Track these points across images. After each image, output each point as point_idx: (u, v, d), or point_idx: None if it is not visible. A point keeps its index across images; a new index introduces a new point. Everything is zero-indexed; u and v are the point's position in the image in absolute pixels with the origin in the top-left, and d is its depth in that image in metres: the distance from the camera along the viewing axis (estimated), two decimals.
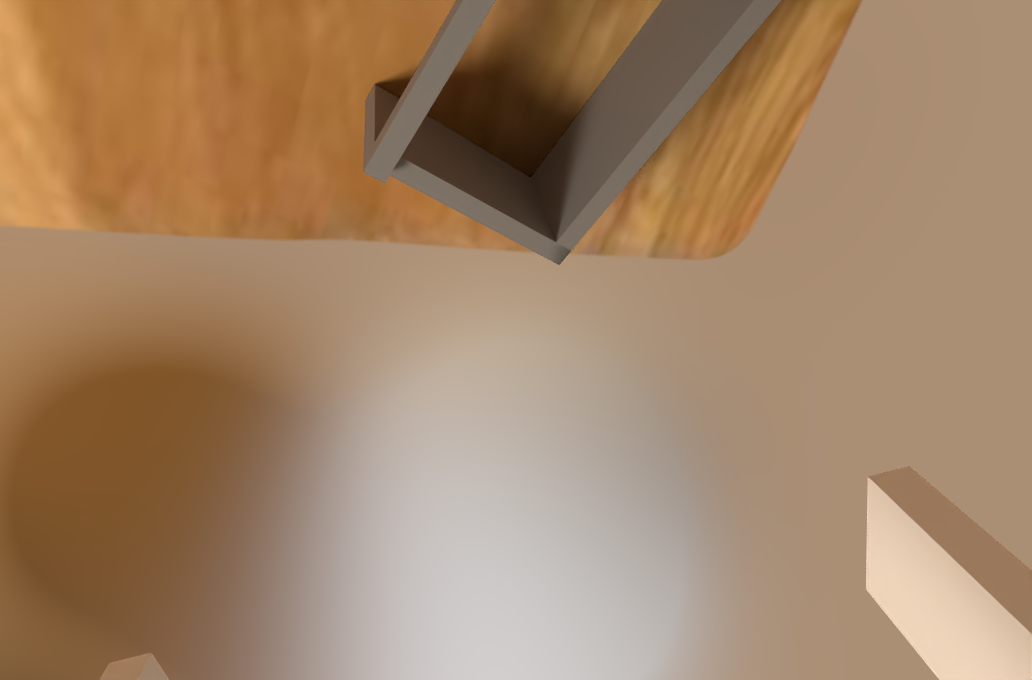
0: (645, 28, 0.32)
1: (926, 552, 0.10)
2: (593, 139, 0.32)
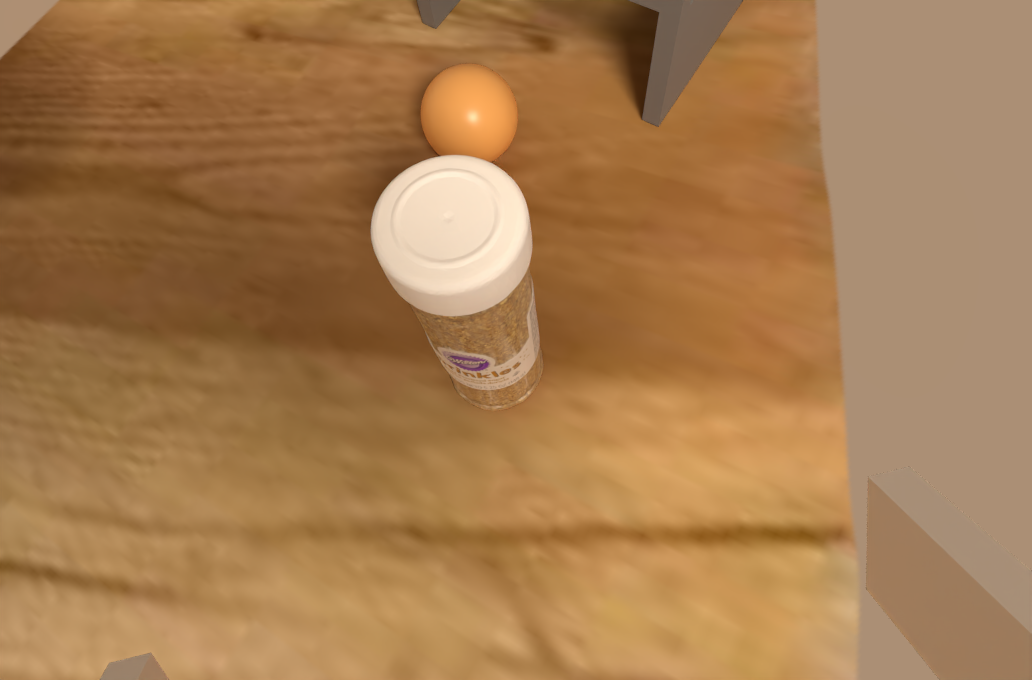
0: None
1: (926, 552, 0.10)
2: None
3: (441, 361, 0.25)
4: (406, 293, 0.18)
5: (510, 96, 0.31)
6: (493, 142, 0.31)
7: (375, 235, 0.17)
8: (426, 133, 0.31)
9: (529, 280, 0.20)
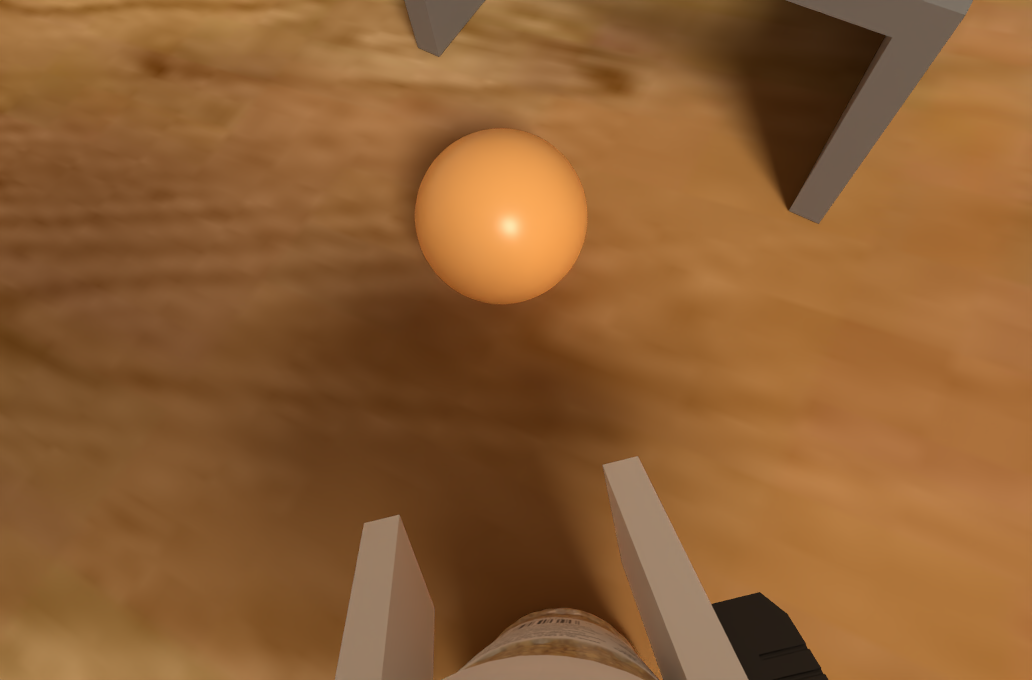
0: None
1: (623, 526, 0.12)
2: None
3: None
4: None
5: (577, 188, 0.17)
6: (548, 272, 0.17)
7: None
8: (425, 253, 0.17)
9: None
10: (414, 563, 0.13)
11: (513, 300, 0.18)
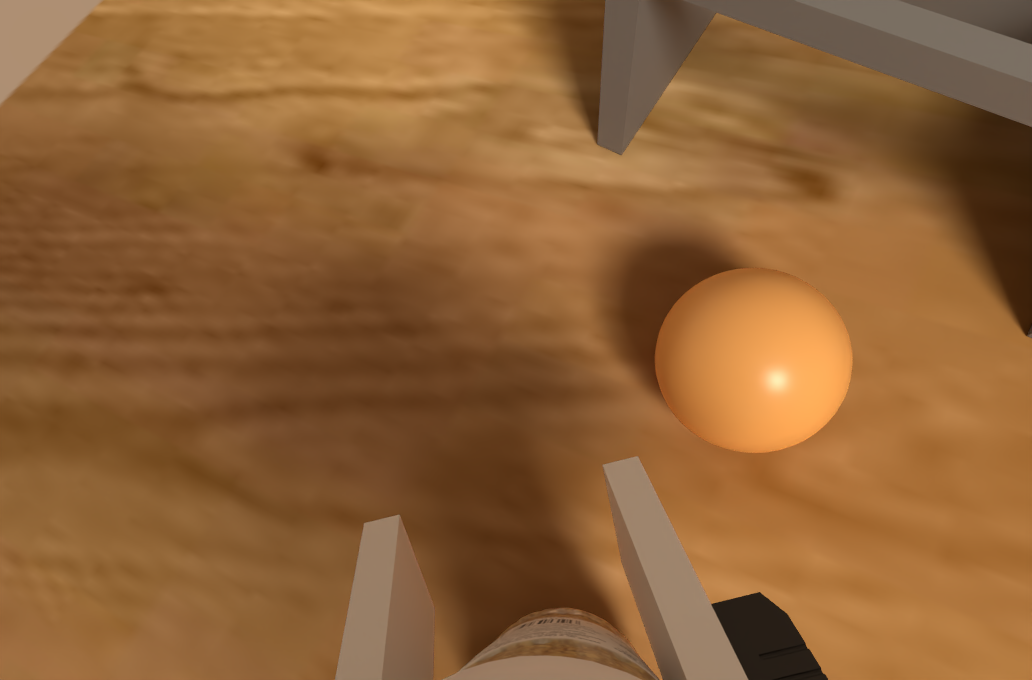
0: None
1: (623, 527, 0.12)
2: None
3: None
4: None
5: (848, 337, 0.16)
6: (818, 429, 0.16)
7: None
8: (678, 403, 0.16)
9: None
10: (414, 563, 0.13)
11: (768, 451, 0.17)
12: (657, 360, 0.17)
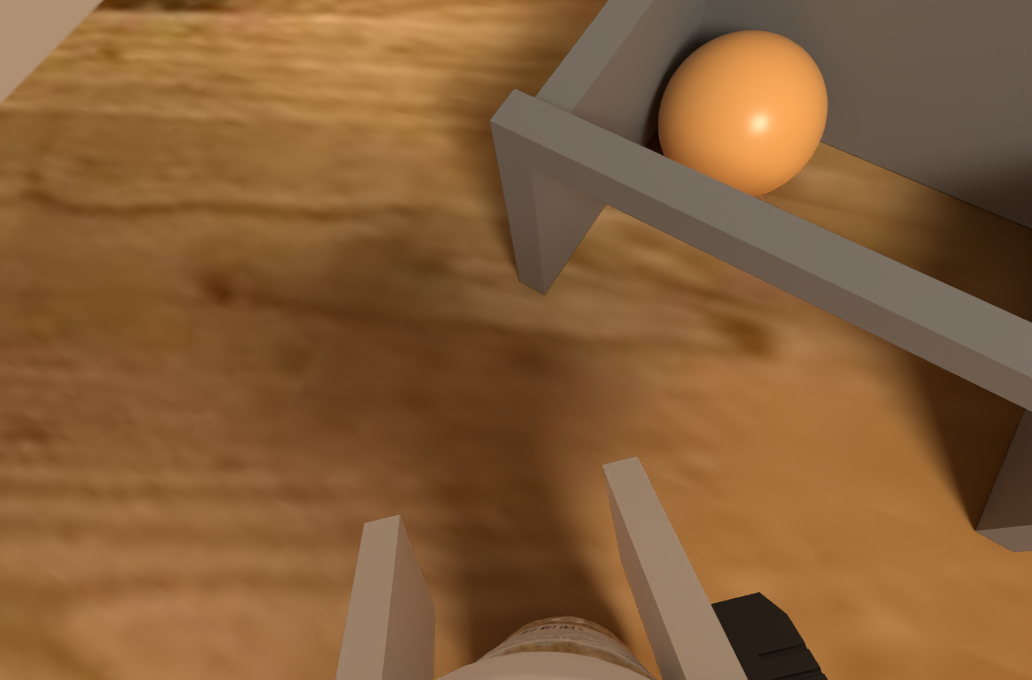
0: None
1: (623, 527, 0.12)
2: (1010, 126, 0.18)
3: None
4: None
5: (821, 137, 0.19)
6: None
7: None
8: (664, 154, 0.20)
9: None
10: (414, 563, 0.13)
11: None
12: (662, 111, 0.19)
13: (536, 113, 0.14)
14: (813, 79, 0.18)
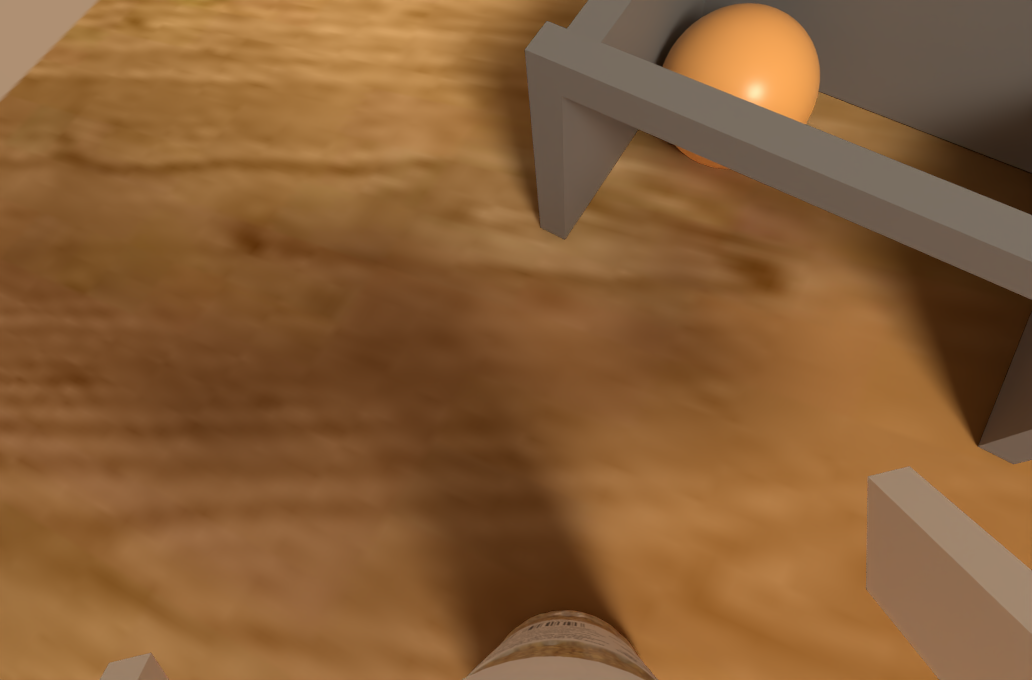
0: None
1: (926, 552, 0.10)
2: (1005, 67, 0.19)
3: None
4: None
5: (812, 108, 0.19)
6: None
7: None
8: None
9: None
10: None
11: None
12: None
13: (568, 42, 0.15)
14: (795, 67, 0.18)
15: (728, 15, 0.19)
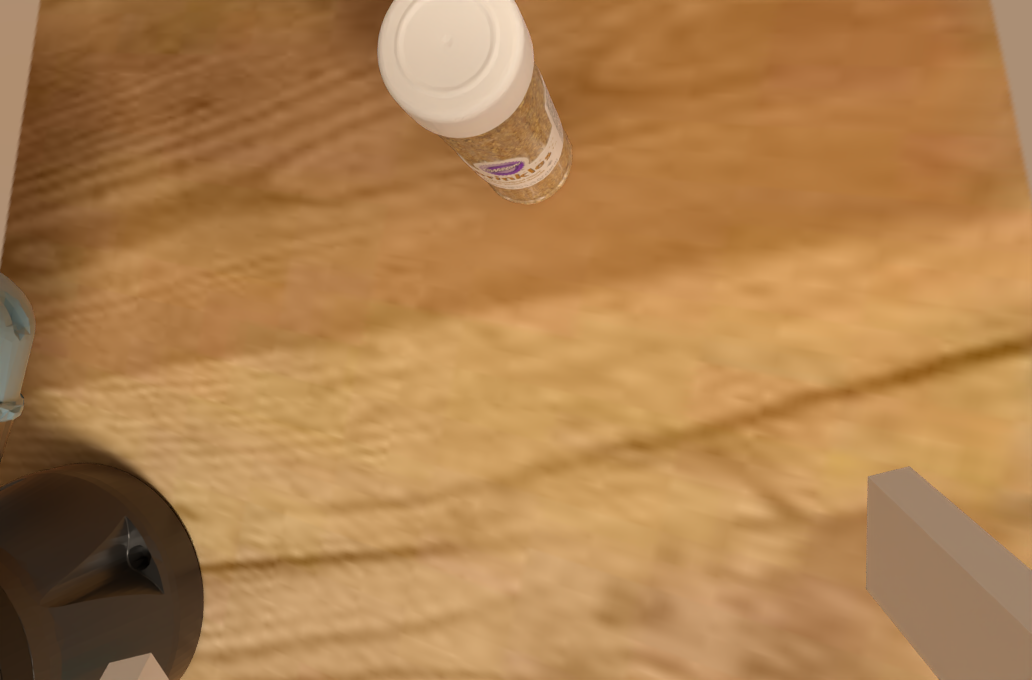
0: None
1: (926, 552, 0.10)
2: None
3: (479, 174, 0.27)
4: (435, 127, 0.19)
5: None
6: None
7: (389, 82, 0.19)
8: None
9: (537, 73, 0.21)
10: None
11: None
12: None
13: None
14: None
15: None
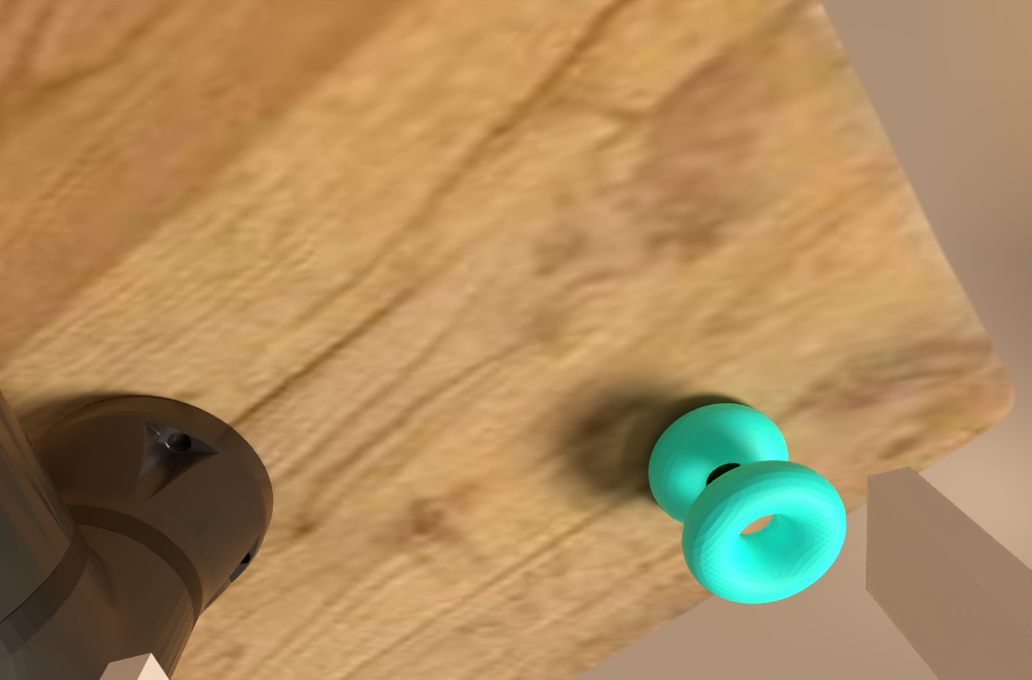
0: None
1: (927, 552, 0.10)
2: None
3: None
4: None
5: None
6: None
7: None
8: None
9: None
10: None
11: None
12: None
13: None
14: None
15: None
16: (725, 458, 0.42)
